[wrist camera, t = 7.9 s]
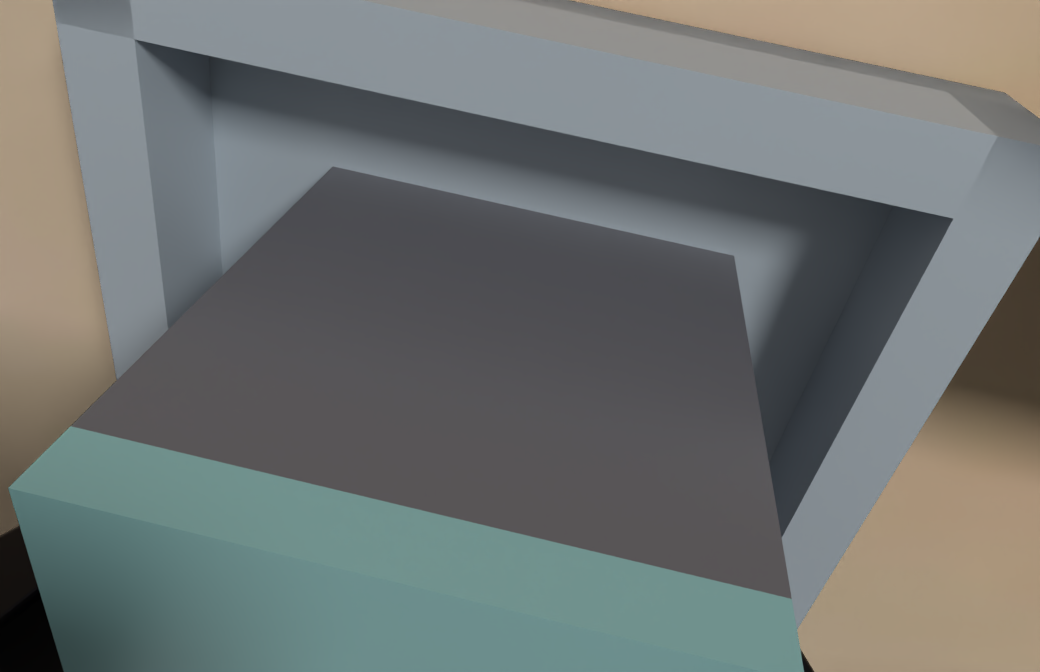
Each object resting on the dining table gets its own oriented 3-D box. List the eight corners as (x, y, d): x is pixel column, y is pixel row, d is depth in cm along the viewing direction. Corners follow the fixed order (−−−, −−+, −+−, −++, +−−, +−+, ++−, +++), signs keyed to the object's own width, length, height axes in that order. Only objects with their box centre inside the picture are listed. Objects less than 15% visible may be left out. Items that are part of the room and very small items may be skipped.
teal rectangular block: (602, 610, 13) (569, 1033, 8) (321, 542, 13) (138, 920, 9) (734, 256, 9) (806, 682, 5) (332, 166, 9) (7, 487, 5)
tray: (693, 685, 15) (697, 791, 13) (218, 568, 15) (163, 658, 14) (1004, 93, 8) (1089, 155, 7) (160, -88, 9) (39, -69, 7)
